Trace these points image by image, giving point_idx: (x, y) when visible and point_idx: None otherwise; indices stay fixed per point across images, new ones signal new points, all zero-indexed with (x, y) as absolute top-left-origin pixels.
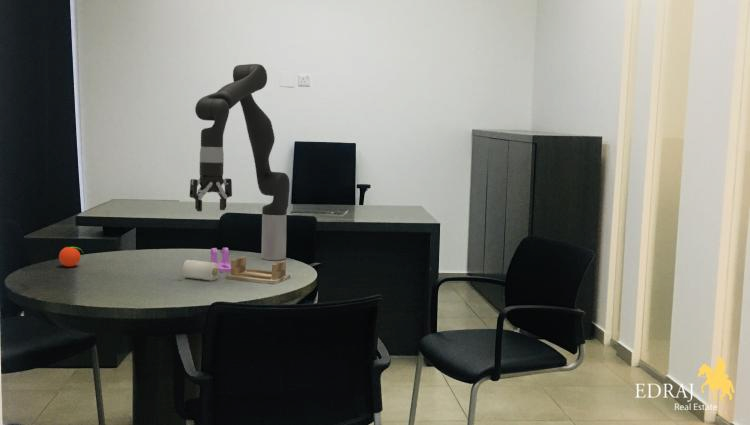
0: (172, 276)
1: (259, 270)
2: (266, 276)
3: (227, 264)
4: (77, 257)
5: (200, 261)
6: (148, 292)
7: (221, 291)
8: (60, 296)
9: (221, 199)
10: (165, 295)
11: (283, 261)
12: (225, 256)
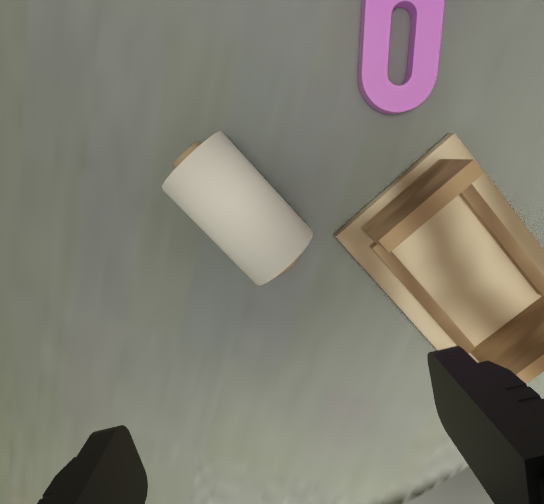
0: (141, 122)
1: (491, 224)
2: (462, 339)
3: None
4: None
5: (234, 219)
6: (27, 362)
7: (257, 414)
8: None
9: (522, 500)
10: (77, 414)
11: None
12: None
